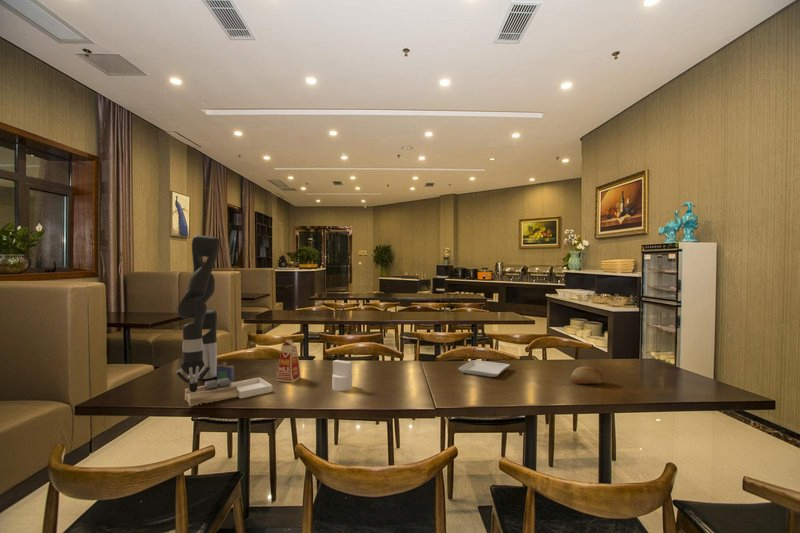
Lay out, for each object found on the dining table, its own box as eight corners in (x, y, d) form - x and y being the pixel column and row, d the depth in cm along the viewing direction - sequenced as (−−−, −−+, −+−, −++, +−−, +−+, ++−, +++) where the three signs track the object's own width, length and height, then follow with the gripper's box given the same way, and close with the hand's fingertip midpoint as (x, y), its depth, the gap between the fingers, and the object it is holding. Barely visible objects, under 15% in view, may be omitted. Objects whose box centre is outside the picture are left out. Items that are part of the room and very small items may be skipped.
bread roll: (608, 386, 184) (608, 369, 184) (576, 386, 184) (576, 369, 184) (598, 380, 194) (598, 364, 194) (567, 380, 194) (567, 364, 194)
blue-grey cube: (217, 388, 173) (217, 379, 173) (227, 386, 176) (227, 377, 176) (220, 390, 170) (220, 381, 170) (229, 389, 173) (229, 379, 173)
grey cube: (204, 391, 170) (204, 381, 170) (214, 389, 173) (214, 379, 173) (207, 393, 167) (207, 383, 167) (217, 391, 170) (217, 381, 169)
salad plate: (457, 374, 206) (457, 367, 206) (472, 365, 225) (472, 359, 224) (497, 380, 195) (497, 373, 195) (510, 370, 213) (510, 364, 213)
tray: (228, 389, 182) (228, 383, 182) (259, 383, 191) (259, 377, 191) (240, 398, 170) (240, 391, 169) (272, 391, 178) (272, 385, 178)
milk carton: (293, 382, 192) (292, 340, 192) (275, 381, 194) (275, 339, 194) (301, 376, 201) (301, 336, 201) (284, 375, 203) (284, 336, 203)
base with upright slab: (356, 386, 185) (356, 360, 185) (344, 392, 178) (344, 364, 177) (340, 383, 190) (340, 358, 190) (328, 389, 182) (328, 362, 182)
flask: (235, 384, 189) (235, 362, 189) (231, 386, 186) (230, 363, 186) (218, 383, 191) (218, 360, 191) (214, 385, 188) (214, 362, 188)
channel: (184, 399, 168) (184, 389, 168) (229, 391, 179) (229, 381, 179) (190, 406, 160) (190, 395, 160) (237, 396, 172) (236, 386, 172)
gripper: (207, 345, 172) (208, 386, 172) (172, 350, 164) (173, 392, 164) (212, 348, 166) (212, 390, 167) (176, 353, 158) (176, 397, 158)
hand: (193, 391), depth 165 cm, fingers closed
